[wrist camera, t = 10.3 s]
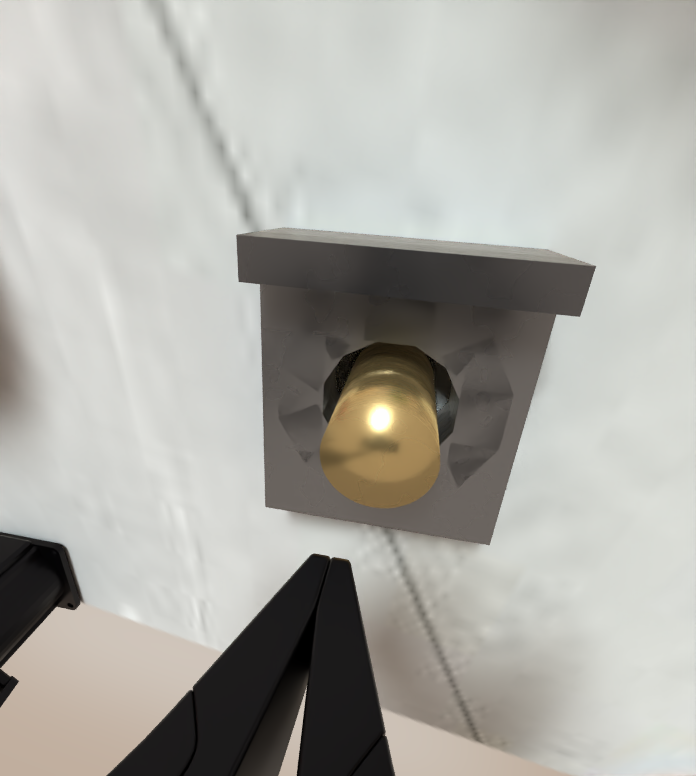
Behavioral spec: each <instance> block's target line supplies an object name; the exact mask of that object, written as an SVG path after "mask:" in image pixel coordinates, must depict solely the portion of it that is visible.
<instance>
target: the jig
mask: <svg viewBox="0 0 696 776" xmlns="http://www.w3.org/2000/svg"><path fill="white" fill-rule="evenodd" d="M237 255H238V277H239V282H245V283H255V284H260V299H261V340H262V381H263V423H264V464H265V506H266V507H269V508H275V509H281V510H287V511H293V512H299V513H304V514H310V515H316V516H322V517H328V518H334V519H340V520H345V521H351V522H357V523H363V524H369V525H375V526H381V527H387V528H392V529H398V530H404V531H410V532H416V533H422V534H428V535H433V536H439V537H445V538H451V539H457V540H463V541H469V542H474V543H480V544H486V545H490V542H491V538H492V535H493V531H494V528H495V524H496V521H497V517H498V514H499V510H500V507H501V504H502V500H503V497H504V493H505V490H506V486H507V483H508V479H509V476H510V473H511V469H512V466H513V462H514V459H515V455H516V452H517V448H518V445H519V441H520V438H521V435H522V431H523V428H524V424H525V421H526V417H527V414H528V410H529V407H530V404H531V400H532V397H533V393H534V390H535V386H536V383H537V379H538V376H539V373H540V369H541V366H542V362H543V359H544V355H545V352H546V348H547V345H548V341H549V338H550V335H551V331H552V328H553V324H554V321H555V317H556V314H559V315H569V316H579V317H580V315H581V312H582V309H583V306H584V303H585V299H586V296H587V293H588V290H589V287H590V284H591V280H592V277H593V274H594V271H595V268H596V266H594V265H591V264H588V263H585V262H582V261H579V260H576V259H573V258H570V257H567V256H565V255H562V254H559V253H556V252H553V251H550V250H546V249H534V248H522V247H510V246H498V245H486V244H474V243H462V242H450V241H438V240H426V239H414V238H403V237H391V236H379V235H367V234H355V233H343V232H331V231H319V230H307V229H295V228H277V229H271V230H264V231H258V232H251V233H245V234H239V235H237ZM376 342H383V343H391V344H400V345H409V346H416V347H417V348H419V349H420V350H421V351H423V352H424V353H425V354H427V355H428V356H430V357H431V358H432V359H434V360H435V361H437V362H438V363H439V364H441V365H442V366H444V367H445V368H446V369H447V372H448V374H449V377H450V379H451V381H452V385H451V390H450V395H449V401H448V402H447V403H446V404H445V405H444V406H443V407H442V409H441V410H440V411H439V412H438V413H437V423H438V436H439V448H440V470H439V473H438V477H437V479H436V481H435V483H434V484H433V486H432V487H431V488H430V490H429V491H428V492H427V493H426V494H425V495H423V496H422V497H421V498H419V499H418V500H416V501H414V502H412V503H410V504H407V505H404V506H400V507H396V508H374V507H369V506H365V505H362V504H359V503H356V502H354V501H352V500H350V499H348V498H347V497H345V496H344V495H342V494H341V493H340V492H338V491H337V490H336V489H335V488H334V487H333V486H332V484H331V483H330V482H329V480H328V479H327V477H326V476H325V474H324V472H323V469H322V466H321V462H320V444H321V441H322V438H323V435H324V433H325V431H326V428H327V426H328V424H329V421H330V419H331V417H332V414H333V412H334V410H335V407H336V405H337V402H338V400H339V398H340V394H339V392H338V390H337V388H336V370H337V364H338V363H339V361H340V360H341V358H342V357H343V356H344V355H347V354H349V353H351V352H354V351H356V350H359V349H361V348H363V347H366V346H368V345H371V344H373V343H376Z"/></svg>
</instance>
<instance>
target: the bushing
mask: <svg viewBox="0 0 696 776" xmlns="http://www.w3.org/2000/svg"><path fill="white" fill-rule="evenodd" d="M320 462H321V466H322V469H323V472H324V474H325V476H326V477H327V479H328V480H329V482H330V483H331V484H332V486H333V487H334V488H335V489H336V490H337V491H338V492H340V493H341V494H342V495H344V496H345V497H347V498H348V499H350V500H352V501H354V502H356V503H359V504H362V505H365V506H369V507H374V508H396V507H400V506H404V505H407V504H410V503H412V502H414V501H416V500H418V499H419V498H421V497H422V496H423V495H425V494H426V493H427V492H428V491H429V490H430V488H431V487H432V486H433V484H434V483H435V481H436V479H437V477H438V473H439V470H440V448H439V436H438V423H437V410H436V397H435V384H434V373H433V368H432V365H431V363H430V361H429V359H428V358H427V356H426V355H425V354H424V353H423V352H422V351H421V350H420V349H419V348H417V347H416V346H409V345H400V344H391V343H383V342H376V343H373V344H371V345H370V346H368V347H367V348H365V349H364V350H363V351H362V352H361V353H360V354H359V356H358V357H357V359H356V360H355V363H354V365H353V367H352V370H351V372H350V374H349V377H348V379H347V381H346V384H345V386H344V388H343V391H342V393H341V395H340V398H339V400H338V402H337V405H336V407H335V410H334V412H333V414H332V417H331V419H330V421H329V424H328V426H327V428H326V431H325V433H324V435H323V438H322V441H321V444H320Z"/></svg>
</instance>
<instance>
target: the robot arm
mask: <svg viewBox="0 0 696 776" xmlns="http://www.w3.org/2000/svg"><path fill="white" fill-rule="evenodd" d="M79 605H80V600H79V597H78V593H77V590H76V587H75V584H74V581H73V577H72V574H71V571H70V568H69V564H68V561H67V558H66V555H65V552H64V549H63V547H62V546H61V545H59V544H56V543H52V542H46V541H41V540H36V539H31V538H26V537H21V536H16V535H10V534H5V533H0V668H1V667H2V666H3V665H4V664H5V662H6V661H7V660H8V659H9V658H10V657H11V656H12V655H13V654H14V653H15V652H16V651H17V649H18V648H19V647H20V646H21V645H22V644H23V643H24V641H26V639H27V638H28V637H29V636H30V635H31V634H32V633H33V632H34V631H35V629H36V628H37V627H38V626H39V625H40V624H41V623H42V622H43V621H44V620H45V619H46V618H47V616H48V615H49V614H50V613H51V612H52V611H53V610H54V609H55V608H56V607H61V608H66V609H70V610H75V609H76V608H77V607H78V606H79ZM18 682H19V681H18V680H17V679H16V678H14V677H13V676H11V677H10V676H9V675H7V674H6V673H5V672H3V671H2V670H1V669H0V707H1V706H2V704H3V703H4V701H5V700H6V699H7V697H8V696H9V695H10V693H11V692H12V690H13V689H14V688H15V686H16V685H17V683H18ZM306 687H307V691H306V700H305V709H304V717H303V726H302V735H301V743H300V752H299V760H298V770H297V776H395V772H394V769H393V764H392V760H391V755H390V750H389V745H388V740H387V737H386V736H385V727H384V722H383V717H382V712H381V708H380V703H379V698H378V693H377V688H376V683H375V679H374V674H373V669H372V664H371V659H370V655H369V650H368V645H367V640H366V635H365V630H364V626H363V621H362V616H361V611H360V606H359V602H358V597H357V592H356V587H355V582H354V577H353V573H352V568H351V563H350V561H349V560H346V559H341V558H336V557H333V558H332V559H330V557H329V556H325V555H320V554H312V555H310V556H309V558H308V559H307V560H306V561H305V562H304V563H303V564H302V565H301V566H300V568H299V569H298V570H297V571H296V572H295V573H294V574H293V575H292V576H291V578H290V579H289V580H288V581H287V582H286V583H285V584H284V585H283V587H282V588H281V589H280V590H279V591H278V592H277V593H276V594H275V595H274V597H273V598H272V599H271V600H270V601H269V602H268V603H267V604H266V606H265V607H264V608H263V609H262V610H261V611H260V612H259V613H258V614H257V616H256V617H255V618H254V619H253V620H252V621H251V622H250V623H249V624H248V626H247V627H246V628H245V629H244V630H243V631H242V632H241V633H240V635H239V636H238V637H237V638H236V639H235V640H234V641H233V642H232V643H231V645H230V646H229V647H228V648H227V649H226V650H225V651H224V652H223V654H222V655H221V656H220V657H219V658H218V659H217V660H216V661H215V662H214V664H213V665H212V666H211V667H210V668H209V669H208V670H207V672H205V674H204V675H203V676H202V677H201V678H200V679H199V680H198V681H197V683H196V684H195V685H194V686H193V691H192V690H189V691H188V693H186V695H185V696H184V697H183V698H182V699H181V700H180V701H179V702H178V704H177V705H176V706H175V707H174V708H173V709H172V710H171V711H170V712H169V713H168V714H167V716H166V717H165V718H164V719H163V720H162V721H161V722H160V723H159V724H158V725H157V726H156V727H155V728H154V729H153V730H152V732H151V733H150V734H149V735H148V736H147V737H146V738H145V739H144V740H143V741H142V742H141V743H140V744H139V745H138V746H137V747H136V748H135V749H134V750H133V751H132V752H130V753H129V754H128V755H127V756H126V757H125V759H124V760H122V761H121V762H120V763H119V764H118V765H117V766H116V767H115V768H114V769H113V770H112V771H111V772H110V773H109V774H108V775H107V776H278V775H279V772H280V769H281V766H282V762H283V759H284V756H285V753H286V750H287V747H288V743H289V740H290V737H291V734H292V730H293V728H294V725H295V721H296V718H297V715H298V712H299V709H300V705H301V702H302V699H303V696H304V693H305V690H306Z"/></svg>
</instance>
